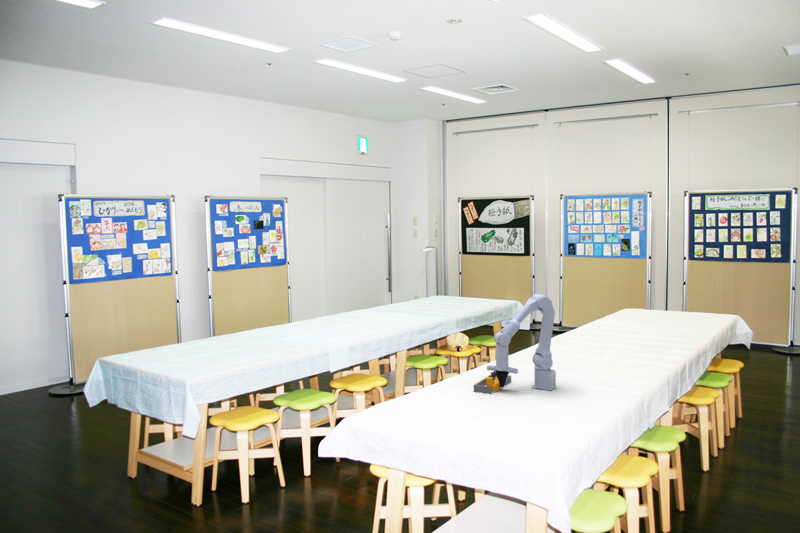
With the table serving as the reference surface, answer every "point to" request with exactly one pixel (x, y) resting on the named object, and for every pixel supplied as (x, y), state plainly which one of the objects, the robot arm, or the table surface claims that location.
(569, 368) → the table surface
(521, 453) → the table surface
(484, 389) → the grey piece
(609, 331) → the table surface
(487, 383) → the pipe clamp
